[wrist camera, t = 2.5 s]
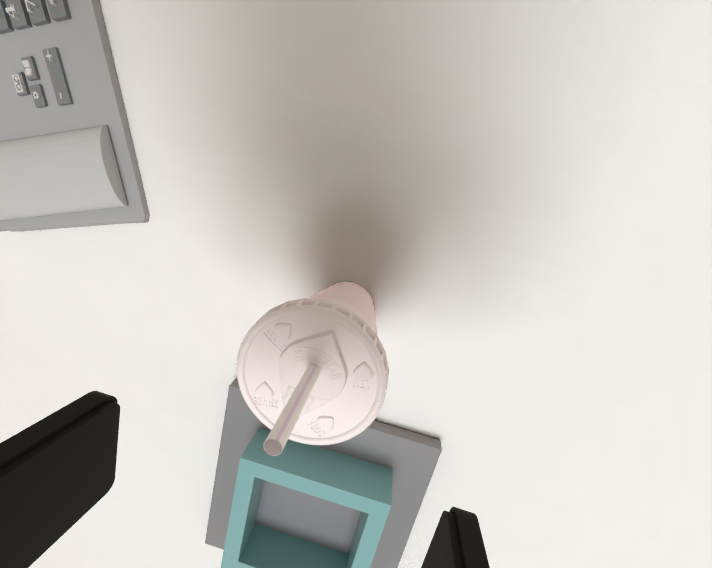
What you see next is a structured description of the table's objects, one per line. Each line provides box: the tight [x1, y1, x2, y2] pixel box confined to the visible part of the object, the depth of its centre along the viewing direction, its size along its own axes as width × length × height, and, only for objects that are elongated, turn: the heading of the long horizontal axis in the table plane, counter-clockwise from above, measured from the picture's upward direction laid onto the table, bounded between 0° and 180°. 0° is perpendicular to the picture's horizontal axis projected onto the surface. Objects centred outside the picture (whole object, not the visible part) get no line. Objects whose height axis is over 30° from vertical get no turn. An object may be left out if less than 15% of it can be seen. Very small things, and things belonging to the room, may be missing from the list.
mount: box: [205, 379, 442, 568], centre depth 25 cm, size 16×16×4 cm
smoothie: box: [237, 281, 389, 456], centre depth 16 cm, size 6×6×14 cm
